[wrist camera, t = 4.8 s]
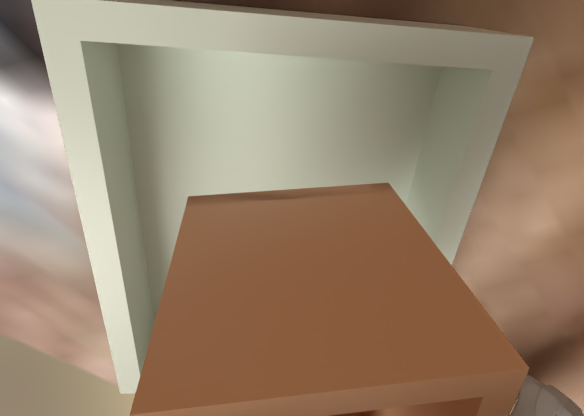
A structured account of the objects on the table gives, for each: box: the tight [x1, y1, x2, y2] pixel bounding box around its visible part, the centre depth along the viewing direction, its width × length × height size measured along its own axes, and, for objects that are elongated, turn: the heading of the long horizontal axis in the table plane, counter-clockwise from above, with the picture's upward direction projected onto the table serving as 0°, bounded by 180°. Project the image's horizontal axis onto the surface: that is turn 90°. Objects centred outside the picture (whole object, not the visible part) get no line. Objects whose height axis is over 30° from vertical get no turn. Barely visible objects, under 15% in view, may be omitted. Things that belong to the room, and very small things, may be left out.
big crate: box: [31, 0, 535, 394], centre depth 16 cm, size 14×16×4 cm
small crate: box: [130, 183, 530, 416], centre depth 9 cm, size 5×8×6 cm, turn 1°
